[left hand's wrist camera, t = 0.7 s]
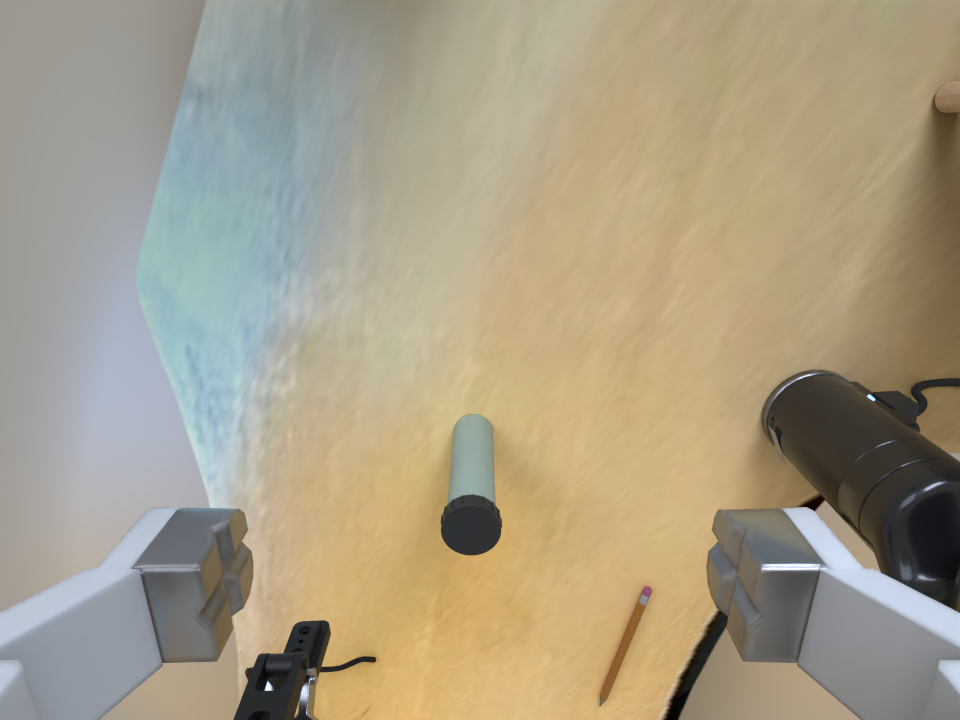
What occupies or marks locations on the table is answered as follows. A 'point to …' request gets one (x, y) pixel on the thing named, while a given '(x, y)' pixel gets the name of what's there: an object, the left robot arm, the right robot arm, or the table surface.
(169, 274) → the table surface
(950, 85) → the planter
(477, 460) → the jar
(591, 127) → the table surface
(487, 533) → the lid
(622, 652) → the pencil
